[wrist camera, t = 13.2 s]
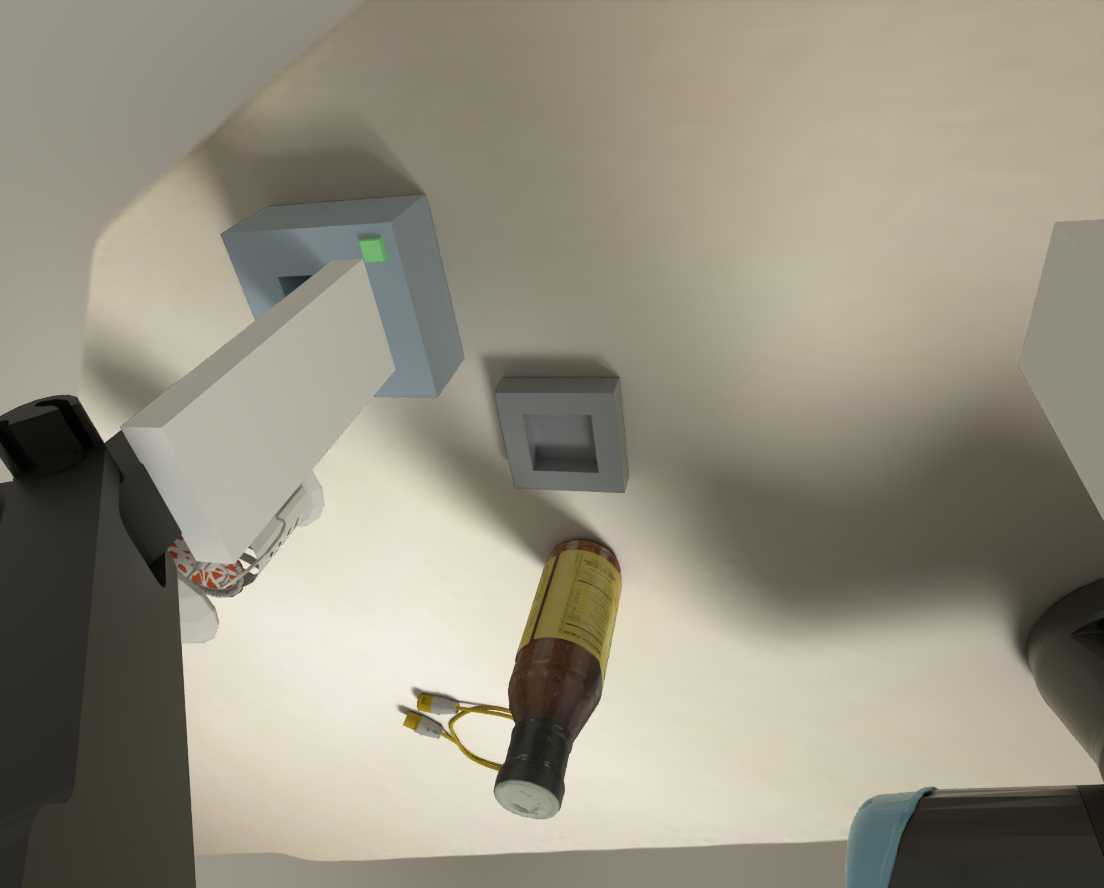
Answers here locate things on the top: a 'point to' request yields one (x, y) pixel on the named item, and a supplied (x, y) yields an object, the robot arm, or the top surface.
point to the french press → (230, 578)
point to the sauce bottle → (558, 674)
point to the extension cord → (450, 707)
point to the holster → (564, 433)
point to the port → (392, 267)
